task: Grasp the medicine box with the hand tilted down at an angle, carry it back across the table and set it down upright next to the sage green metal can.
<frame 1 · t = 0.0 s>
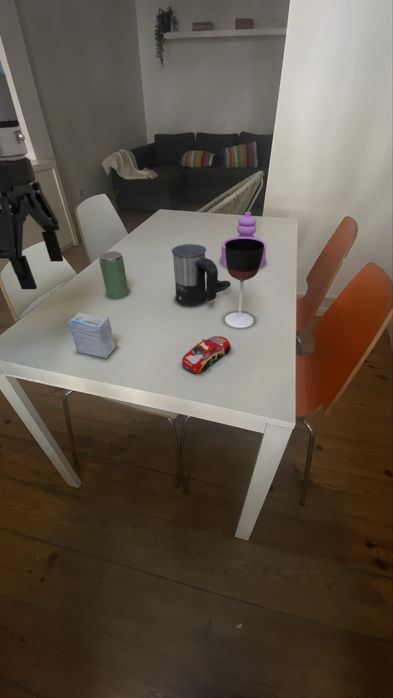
hand: (44, 273, 67), 17 cm above the table, tool pointing down, fingers open, 13 cm apart
race car: (207, 358, 72), on the table
container set: (243, 257, 117), on the table
milk frother: (202, 296, 95), on the table
wineglass: (239, 320, 84), on the table
green can: (117, 293, 97), on the table
medicine box: (97, 351, 75), on the table
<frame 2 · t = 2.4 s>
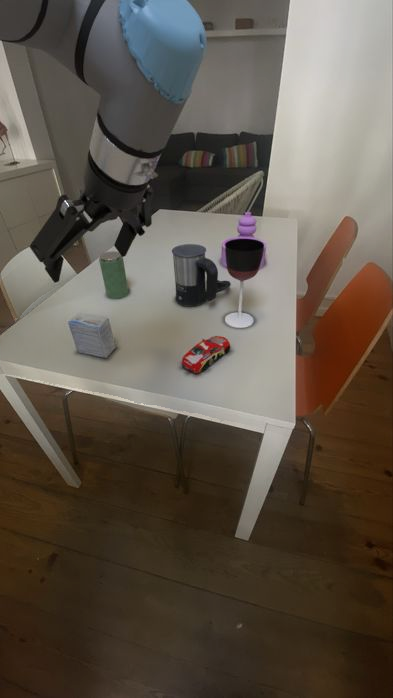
hand: (88, 262, 55), 24 cm above the table, tool tilted 40°, fingers open, 13 cm apart
nothing on the table moved.
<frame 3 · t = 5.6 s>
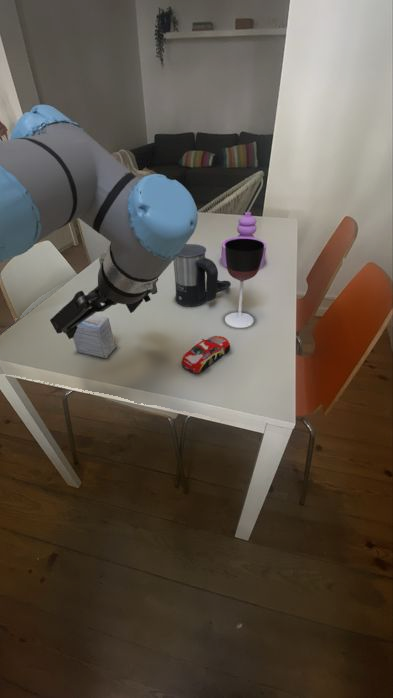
hand: (99, 318, 64), 12 cm above the table, tool tilted 45°, fingers open, 13 cm apart
nothing on the table moved.
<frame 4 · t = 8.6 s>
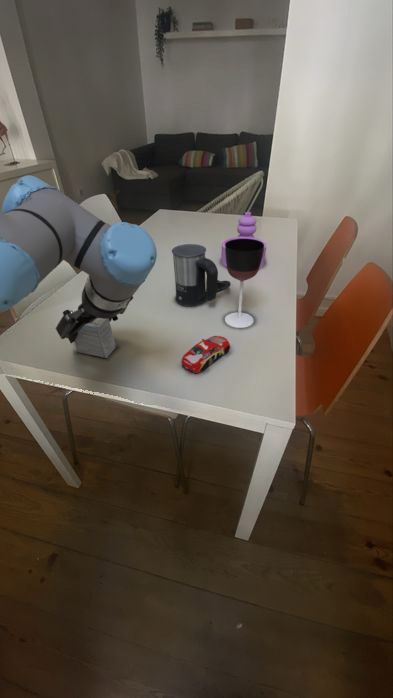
hand: (85, 330, 74), 4 cm above the table, tool tilted 45°, fingers closed on medicine box, 7 cm apart
medicine box: (97, 351, 75), on the table, touching gripper
everything else where it was.
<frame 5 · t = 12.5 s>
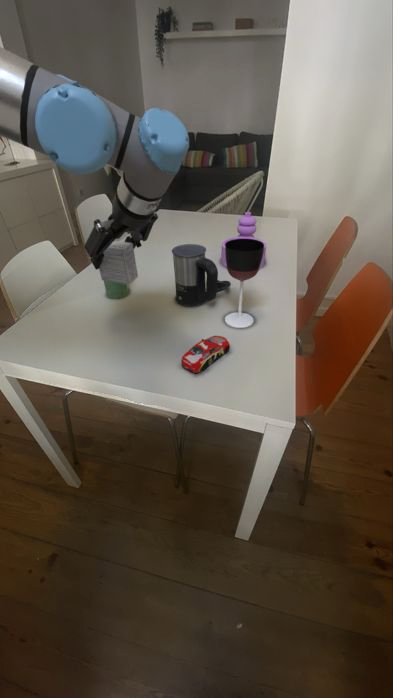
hand: (109, 259, 77), 16 cm above the table, tool tilted 45°, fingers closed on medicine box, 7 cm apart
medicine box: (120, 280, 78), point 11 cm above the table, touching gripper
everything else where it was.
when the fingers open (4 cm above the table, at t = 16.9 s): medicine box stays where it is, on the table.
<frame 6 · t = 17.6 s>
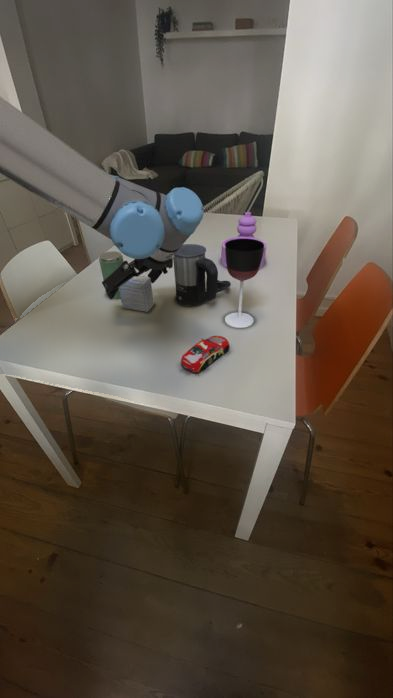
hand: (130, 286, 88), 5 cm above the table, tool tilted 45°, fingers open, 13 cm apart
medicine box: (138, 307, 90), on the table
everything else where it was.
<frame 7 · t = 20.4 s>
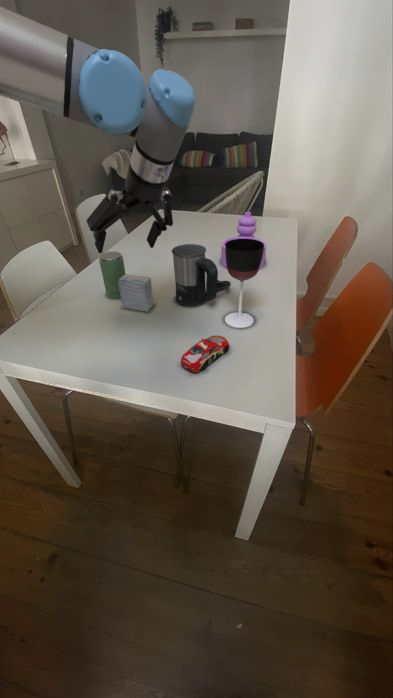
hand: (125, 246, 78), 18 cm above the table, tool tilted 35°, fingers open, 13 cm apart
nothing on the table moved.
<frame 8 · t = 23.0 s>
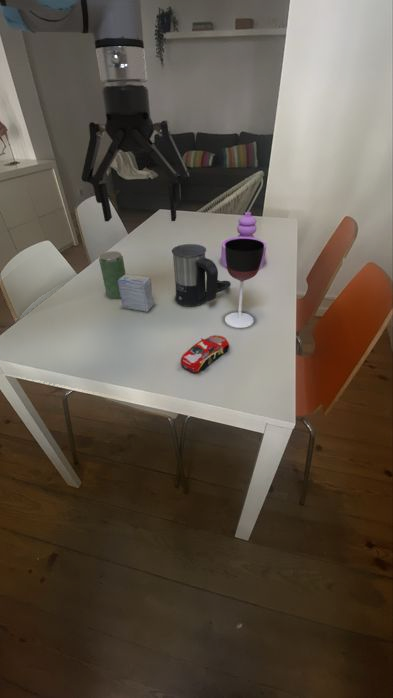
hand: (141, 219, 65), 27 cm above the table, tool pointing down, fingers open, 13 cm apart
nothing on the table moved.
at the end: medicine box 11.1 cm from the green can (horizontally); medicine box tilted 0°; medicine box moved 21.1 cm from its start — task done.
